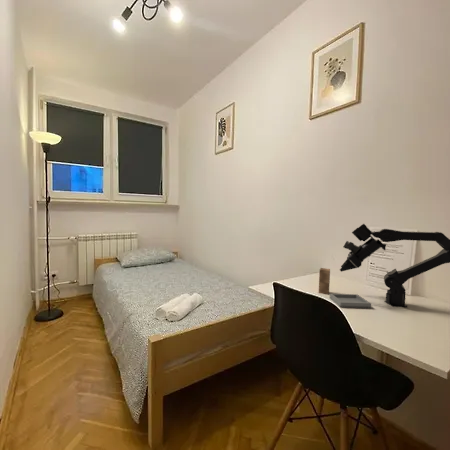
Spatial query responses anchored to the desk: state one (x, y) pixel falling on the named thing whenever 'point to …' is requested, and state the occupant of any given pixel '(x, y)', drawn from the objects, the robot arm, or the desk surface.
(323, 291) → the block
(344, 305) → the tray
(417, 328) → the desk surface
